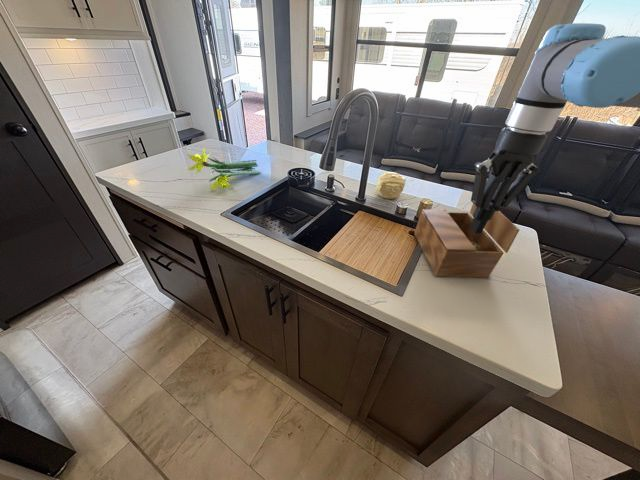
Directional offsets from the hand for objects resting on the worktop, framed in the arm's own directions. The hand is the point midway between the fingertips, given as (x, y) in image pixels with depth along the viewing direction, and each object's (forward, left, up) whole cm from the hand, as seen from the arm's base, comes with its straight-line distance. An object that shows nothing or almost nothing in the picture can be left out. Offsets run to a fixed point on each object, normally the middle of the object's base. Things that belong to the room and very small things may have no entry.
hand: (475, 230), depth 63 cm
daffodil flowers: (+60, +79, -18) cm, 101 cm away
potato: (+6, -4, -18) cm, 19 cm away
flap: (+12, 0, -8) cm, 14 cm away
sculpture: (+51, +7, -18) cm, 55 cm away
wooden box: (+12, -4, -18) cm, 22 cm away
